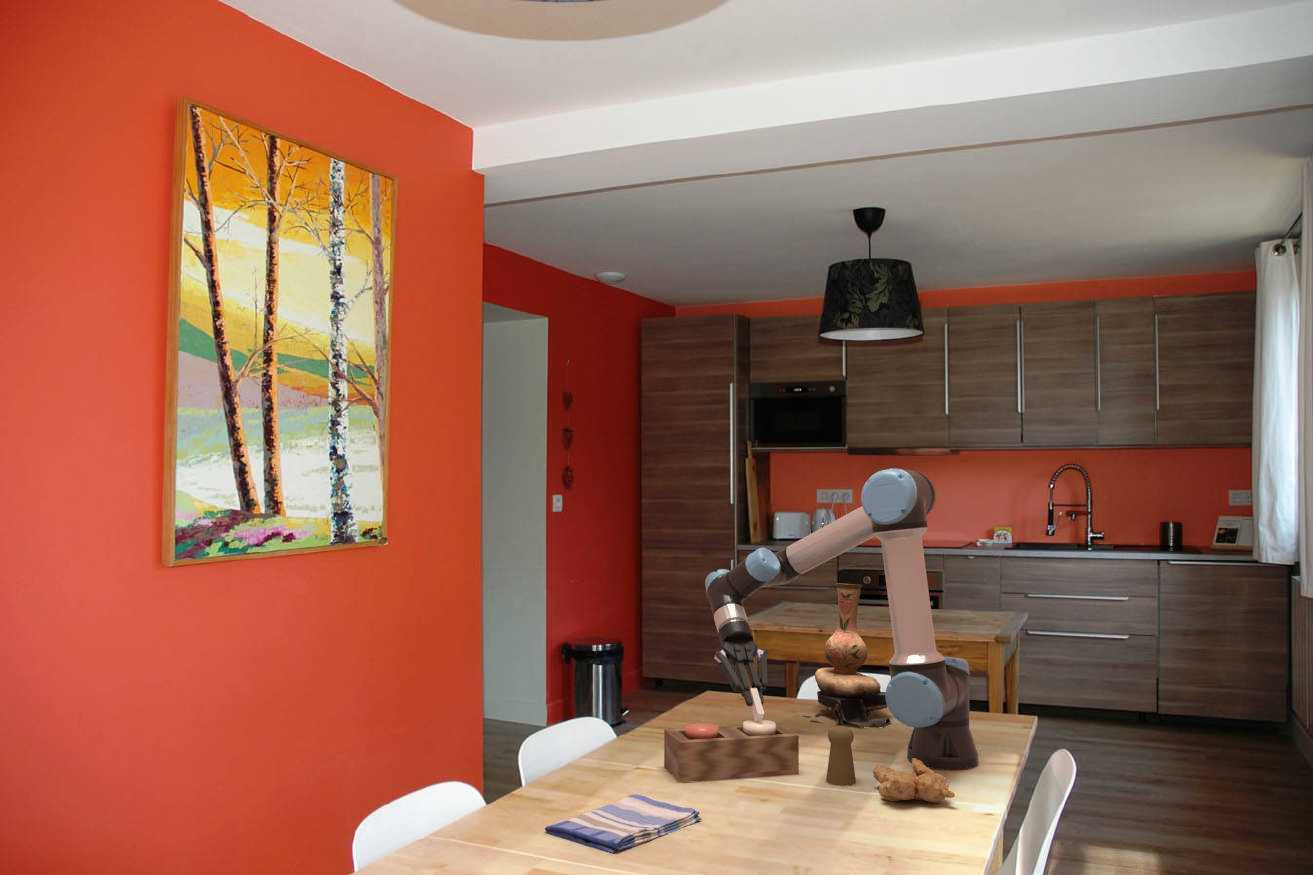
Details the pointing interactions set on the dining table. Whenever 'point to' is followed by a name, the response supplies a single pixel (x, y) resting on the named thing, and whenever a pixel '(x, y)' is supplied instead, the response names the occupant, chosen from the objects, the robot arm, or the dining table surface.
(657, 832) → the dish towel
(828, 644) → the vase
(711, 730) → the red button
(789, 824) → the dining table surface
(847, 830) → the dining table surface
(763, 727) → the ivory button
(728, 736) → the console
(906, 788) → the ginger root
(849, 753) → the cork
